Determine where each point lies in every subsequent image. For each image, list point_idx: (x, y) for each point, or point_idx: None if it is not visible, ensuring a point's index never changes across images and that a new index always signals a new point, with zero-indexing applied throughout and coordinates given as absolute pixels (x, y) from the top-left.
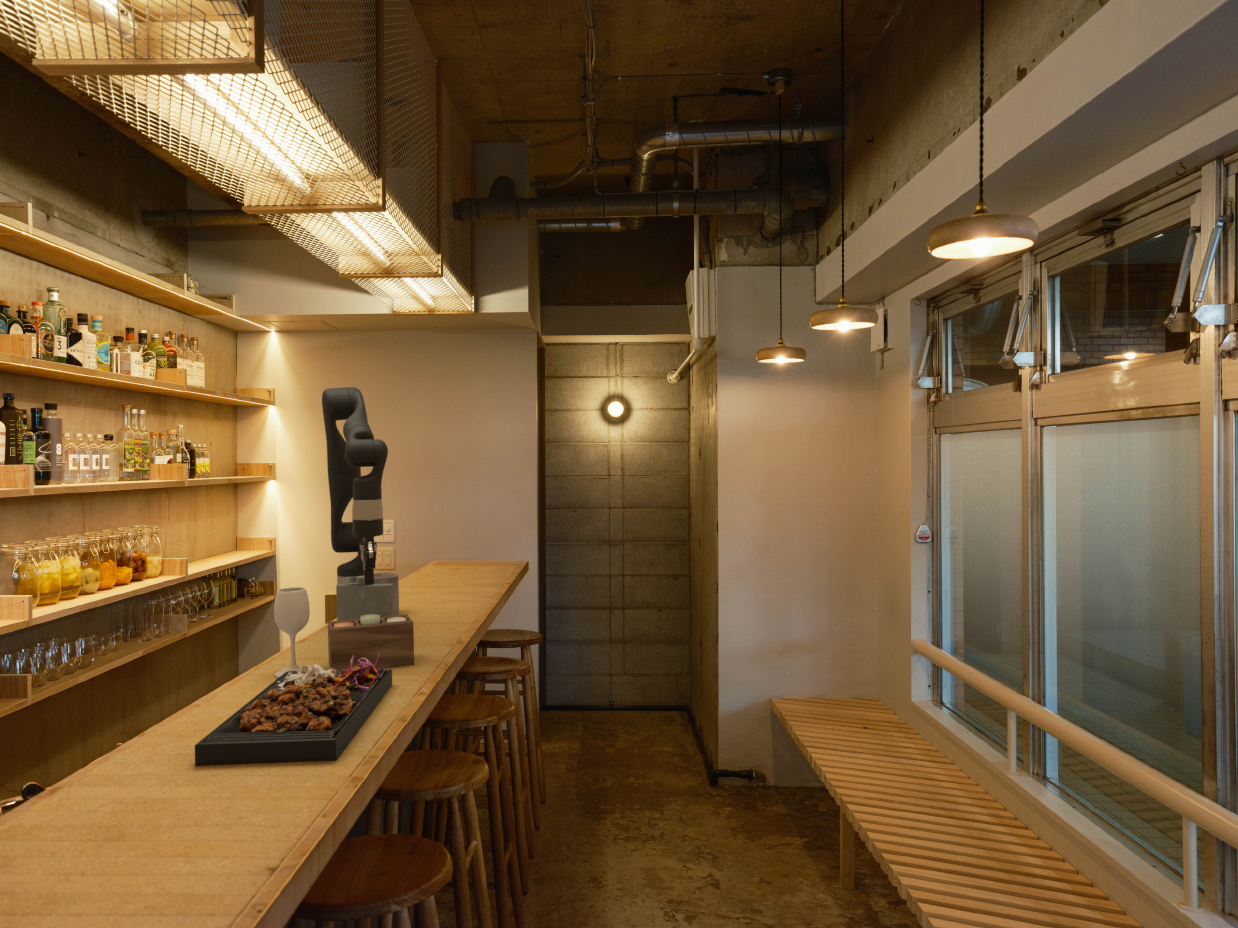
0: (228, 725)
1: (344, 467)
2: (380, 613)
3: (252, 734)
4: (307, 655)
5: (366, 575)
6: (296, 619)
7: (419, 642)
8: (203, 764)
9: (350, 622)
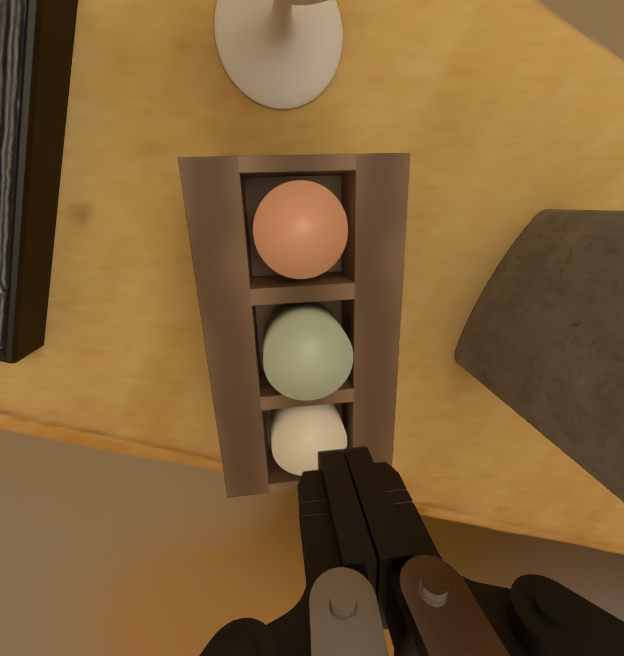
0: None
1: None
2: (534, 382)
3: None
4: (502, 101)
5: (332, 525)
6: None
7: (466, 426)
8: None
9: (326, 265)
